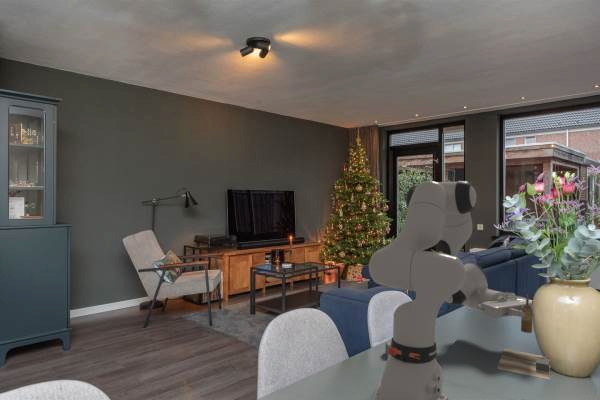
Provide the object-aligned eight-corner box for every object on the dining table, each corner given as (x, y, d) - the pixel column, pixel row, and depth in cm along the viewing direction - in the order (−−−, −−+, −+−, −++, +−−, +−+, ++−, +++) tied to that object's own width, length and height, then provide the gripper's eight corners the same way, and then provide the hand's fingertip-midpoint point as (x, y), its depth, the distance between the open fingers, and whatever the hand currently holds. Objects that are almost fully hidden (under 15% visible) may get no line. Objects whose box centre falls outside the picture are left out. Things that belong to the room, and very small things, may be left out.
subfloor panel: (549, 383, 123) (549, 379, 123) (496, 371, 131) (497, 368, 131) (550, 360, 140) (550, 357, 140) (504, 351, 148) (504, 348, 148)
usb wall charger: (385, 352, 145) (385, 341, 145) (405, 353, 145) (405, 341, 145) (388, 357, 141) (388, 345, 141) (408, 357, 141) (408, 345, 141)
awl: (531, 333, 138) (532, 296, 137) (520, 331, 139) (521, 295, 139) (532, 330, 140) (533, 294, 140) (521, 329, 142) (522, 293, 142)
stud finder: (549, 372, 129) (549, 364, 128) (535, 369, 130) (536, 361, 130) (549, 365, 134) (549, 357, 134) (536, 363, 135) (536, 355, 135)
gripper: (473, 297, 147) (506, 307, 135) (515, 292, 155) (550, 301, 143) (472, 315, 147) (506, 327, 135) (514, 309, 156) (549, 320, 143)
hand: (529, 313), depth 139 cm, fingers closed on awl, 3 cm apart
